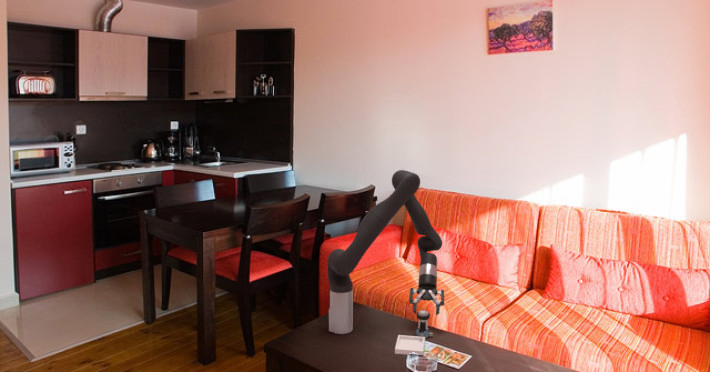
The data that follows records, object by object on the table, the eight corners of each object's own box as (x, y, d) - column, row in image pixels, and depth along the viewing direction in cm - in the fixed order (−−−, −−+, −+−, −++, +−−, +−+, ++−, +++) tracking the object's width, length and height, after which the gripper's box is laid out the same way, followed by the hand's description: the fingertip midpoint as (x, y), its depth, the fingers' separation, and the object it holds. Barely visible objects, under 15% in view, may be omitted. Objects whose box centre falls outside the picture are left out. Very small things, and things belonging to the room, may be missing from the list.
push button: (434, 334, 216) (434, 310, 214) (431, 340, 211) (431, 315, 209) (417, 332, 218) (418, 308, 216) (414, 337, 213) (415, 313, 211)
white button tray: (394, 353, 199) (394, 349, 199) (398, 339, 211) (398, 334, 211) (423, 355, 197) (423, 351, 197) (425, 341, 209) (425, 337, 209)
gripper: (410, 272, 224) (407, 308, 214) (445, 274, 221) (444, 311, 212) (411, 280, 230) (408, 316, 220) (445, 282, 227) (443, 318, 218)
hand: (426, 313), depth 216 cm, fingers open, 8 cm apart
